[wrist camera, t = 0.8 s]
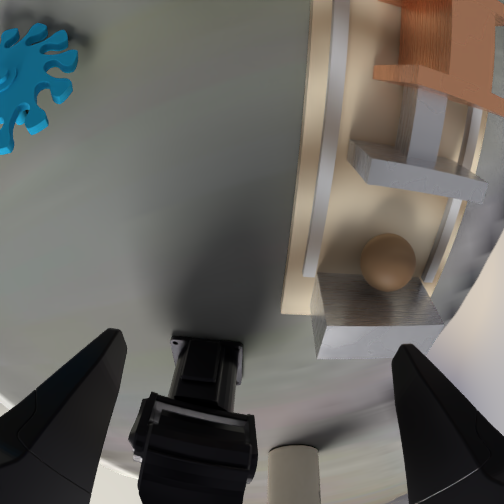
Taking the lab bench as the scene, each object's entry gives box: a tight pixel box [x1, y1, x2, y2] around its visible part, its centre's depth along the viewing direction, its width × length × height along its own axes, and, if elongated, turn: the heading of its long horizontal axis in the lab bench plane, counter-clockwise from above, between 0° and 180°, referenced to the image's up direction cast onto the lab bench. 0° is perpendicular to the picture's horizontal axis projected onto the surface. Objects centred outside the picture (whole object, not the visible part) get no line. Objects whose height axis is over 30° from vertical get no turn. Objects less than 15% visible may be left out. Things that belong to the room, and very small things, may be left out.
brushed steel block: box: [310, 272, 444, 359], centre depth 19 cm, size 3×8×5 cm, turn 87°
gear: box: [0, 23, 78, 155], centre depth 13 cm, size 11×6×10 cm
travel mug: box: [267, 445, 321, 504], centre depth 34 cm, size 8×8×18 cm
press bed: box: [281, 0, 488, 315], centre depth 17 cm, size 22×12×2 cm, turn 177°
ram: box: [346, 0, 504, 204], centre depth 11 cm, size 10×7×5 cm
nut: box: [360, 233, 416, 292], centre depth 18 cm, size 4×4×4 cm
